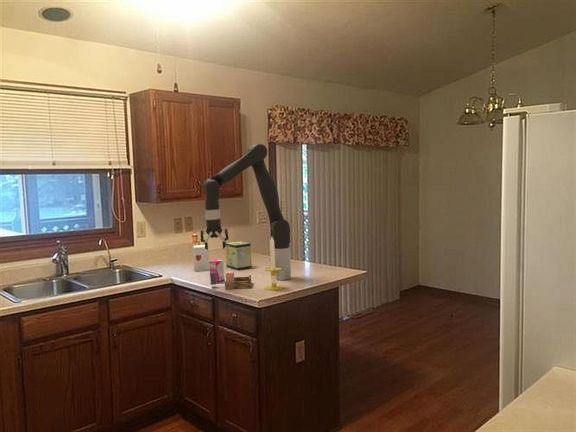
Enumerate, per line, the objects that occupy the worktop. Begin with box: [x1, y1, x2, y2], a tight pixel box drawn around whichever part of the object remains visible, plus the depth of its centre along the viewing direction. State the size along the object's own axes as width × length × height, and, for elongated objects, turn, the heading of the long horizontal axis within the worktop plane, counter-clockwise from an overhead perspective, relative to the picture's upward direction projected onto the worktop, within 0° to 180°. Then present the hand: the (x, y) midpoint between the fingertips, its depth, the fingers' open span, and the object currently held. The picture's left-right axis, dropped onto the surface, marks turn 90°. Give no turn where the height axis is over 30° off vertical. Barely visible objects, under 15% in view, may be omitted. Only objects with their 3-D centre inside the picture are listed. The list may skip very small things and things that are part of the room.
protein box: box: [224, 241, 253, 271], centre depth 311 cm, size 10×16×16 cm
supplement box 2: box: [209, 259, 226, 283], centre depth 275 cm, size 6×6×12 cm
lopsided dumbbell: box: [209, 270, 235, 286], centre depth 260 cm, size 12×5×6 cm, turn 93°
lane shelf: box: [224, 274, 252, 290], centre depth 261 cm, size 13×12×4 cm
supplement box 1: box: [193, 244, 210, 272], centre depth 309 cm, size 9×9×15 cm
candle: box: [264, 236, 285, 291], centre depth 253 cm, size 10×10×27 cm
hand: (215, 249), depth 260 cm, fingers open, 8 cm apart
